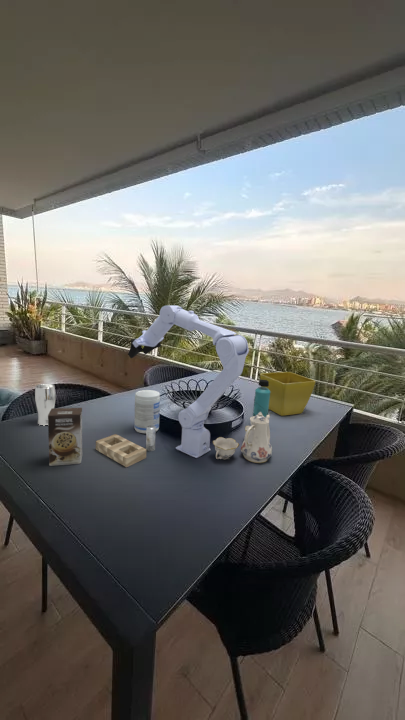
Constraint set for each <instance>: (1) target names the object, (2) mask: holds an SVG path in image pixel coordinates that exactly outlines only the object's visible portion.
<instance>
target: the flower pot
mask: <svg viewBox="0 0 405 720" xmlns="http://www.w3.org/2000/svg"><path fill="white" fill-rule="evenodd" d="M259 380H267V381H269V386H268V387H266V388H268V389H269V390H270V400H269V409H268V410H270V411H272V412H274V413H276V414H277V415H279V416H281V417H283V416H284V417H285V416H289V415H290V416H291V415H298V414H303V412H304V410H305V408H306V407H307V405H308V403H309V400H310V399H311V396H312V394H313V391H314V388H315V385H316V380H314V379H311V378H308V377H306V376H303V375H301V374H297V373H294V372H291V371H282V372H280V371H279V372H262V373H259ZM260 387H263V386H260Z"/></svg>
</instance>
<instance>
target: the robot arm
mask: <svg viewBox="0 0 405 720" xmlns="http://www.w3.org/2000/svg"><path fill="white" fill-rule="evenodd" d="M174 325H175V326H178V327H180V328H182V329H184V330H187V331H188V332H193V331H194V330H196V331H199V332H200V333H202V334H204V335H206V336H208V337H210V338H212V344H213V346H215V351H216V354H217V356H218V358H219V361H220V363H221V365H222V368H223V369H222V370H221V371H220V372H219V374H217V376H216V377H215V378H214V379H213V380H212V382H210V384H209V385H208V386H207V387H206V389H204V391H203V392H202V393H201V394H200V396H199V397H197V399H196V400H195V401H194V402H192V403H191V404H190V405H188V406H187V407H186V408H184V409H181V410H180V411H179V413H178V416H177V418H178V422H179V424H180V426H181V444H180V445H177V446H176V447H175V449H176V450H177V451H180V452H182V453H184V454H187V455H189V456H190V457H193V458H195V459H198V458H200V457H201V456H203V455H205V454H206V453H208V452H210V451H212V450H211V448H210V446H211V445H210V444H211V443H210V442H211V432H210V430H209V429H207V428H206V427H205V426H204V424H205V421H206V419H207V418H208V416H209V413H210V411H211V410H212V407H213V405H214V404H216V402H217V401H218V400H219V399H220V398H221V397H222V396H223V395H224V393H226V391H227V390H228V389H229V388H230V387H231V386H232V385H233V384H234V382H235V381H236V380H237V379H238V378H239V377H240V376H241V375H242V374H243V370H244V365H245V362H246V357H247V355H248V354H249V352H250V350H249V343H248V340H247V339H246V337H245V336H244V335H242V334H237V332H235V331H233V330H230V329H227V328H224V327H221V326H219V325H216V324H213V323H209V322H207V321H204V320H201V319H199V316H198V314H196V313H195V311H194V310H186V309H183V307H182V306H179V305H176V304H175V305H174V304H173V305H172V304H171V305H169V304H167V305H163V306H162V307H161V308H160V310H159V315H158V316H157V318H156V319H155V320H154V321H153V322H152V324H151V325H150V326H149V327H148V329H147V330H146V329H145V330H142V331H141V334H142V335H140V336H139V337H138V338H136V337H134V338H132V339H131V340H130V348H129V351H128V354H127V355H128V356H129V358H130V359H134V358H135V357H136V356H137V355H138V354H140V353H142V352H143V354H144V355H147V354H150V353H151V352H152V351H153V350H155V349H158V348H160V347H162V344H161V342H163V340H164V339H165V338H164V337H165V335H166V334H167V333H168V332H169V331H170V329H171V328H172V327H173V326H174Z"/></svg>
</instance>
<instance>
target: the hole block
mask: <svg viewBox="0 0 405 720" xmlns="http://www.w3.org/2000/svg"><path fill="white" fill-rule="evenodd" d="M95 450H96V451H97V452H99V453H100V454H103V455H104V456H106V457H107V458H110V459H111V460H113V461H114V462H117V463H118V464H119V465H121V466H123V467H125V468H128V467H130V466H133V465H135V464H136V463H139V462H140V461H142V460H145V459H147V449H146V447H145V448H144V447H142V446H141V445H139V444H137V443H134V442H132V441H130V440H128V439H127V438H124V437H122V436H121V435H119V434H117V433H116V434H112V435H109V436H107V437H103V438H101V439H98V440H95Z"/></svg>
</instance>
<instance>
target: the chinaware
mask: <svg viewBox="0 0 405 720" xmlns="http://www.w3.org/2000/svg"><path fill="white" fill-rule="evenodd" d="M252 416H253V415H252ZM252 416H250V418H249V421H250V425H245V427H244V431H245V435H244V438H243V439H244V440H243V442H242V444H241V446H240V444H239V442H237V441H236V440H235V438H231V437H228V438H227V437H226V438H224V436H223V437H222V436H219V437H217V438H216V439H215V440H212V445H214V449H215V452H216V453H215V458H216V459H217V460H219V459H220V460H230V458H231V457H232V456H233V455H234V454H235V453H236V451H237V448H238V447H239V446H240V451H241V453H242V456H243V458H244V459H246V460H247V461H249V462H252V463H255V464H262V463H266V462H267V461H268V460H269V459H270V457H272V452H273V447H272V444H271V443H270V440H271V429H270V417H271V414H269V413H268V415H267V416H266V418H265V417H264V416H263V414H262V413H261V412H259V413H258V415H256V416H253V417H252Z"/></svg>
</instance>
